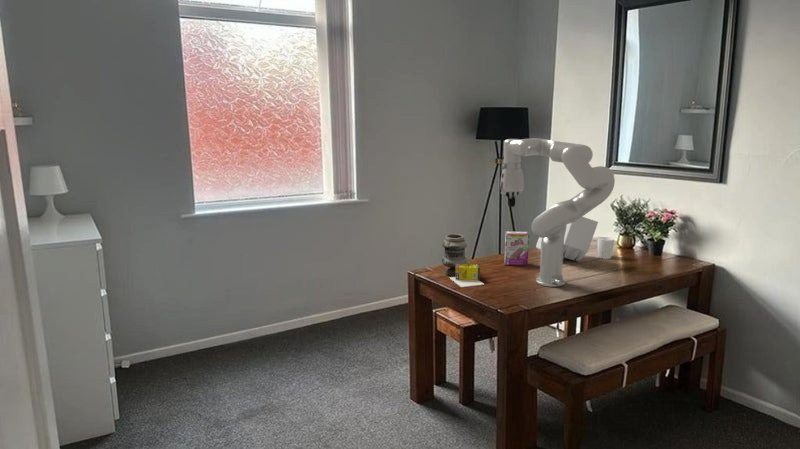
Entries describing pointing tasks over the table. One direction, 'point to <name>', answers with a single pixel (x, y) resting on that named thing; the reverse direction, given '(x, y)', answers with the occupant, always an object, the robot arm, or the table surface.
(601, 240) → the white cup
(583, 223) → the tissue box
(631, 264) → the table surface
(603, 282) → the table surface
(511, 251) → the candy bar box
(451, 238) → the apothecary jar
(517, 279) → the table surface
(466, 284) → the felt mat
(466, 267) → the supplement box
